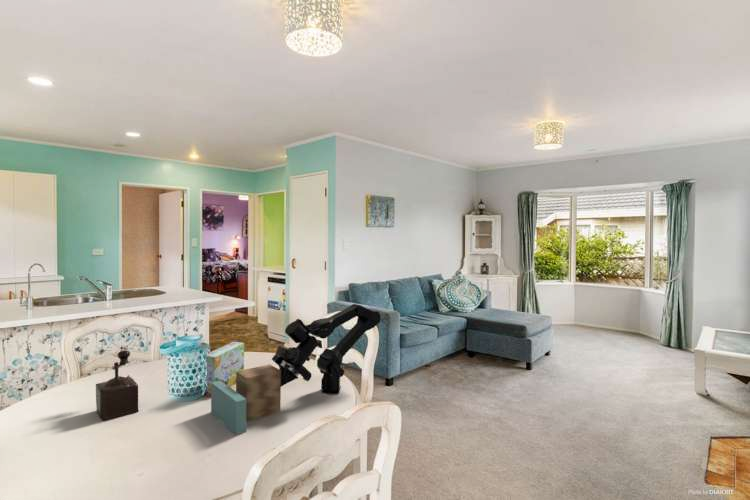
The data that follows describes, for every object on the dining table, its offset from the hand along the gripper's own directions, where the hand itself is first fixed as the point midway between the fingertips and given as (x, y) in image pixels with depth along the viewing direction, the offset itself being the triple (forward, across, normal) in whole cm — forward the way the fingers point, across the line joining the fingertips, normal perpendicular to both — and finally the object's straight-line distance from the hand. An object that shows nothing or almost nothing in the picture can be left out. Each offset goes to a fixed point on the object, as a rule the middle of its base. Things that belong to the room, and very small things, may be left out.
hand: (275, 387), depth 140 cm
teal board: (+17, 0, -7) cm, 18 cm away
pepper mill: (+34, -32, -24) cm, 53 cm away
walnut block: (+9, 0, 0) cm, 9 cm away
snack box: (+9, -30, +1) cm, 31 cm away
